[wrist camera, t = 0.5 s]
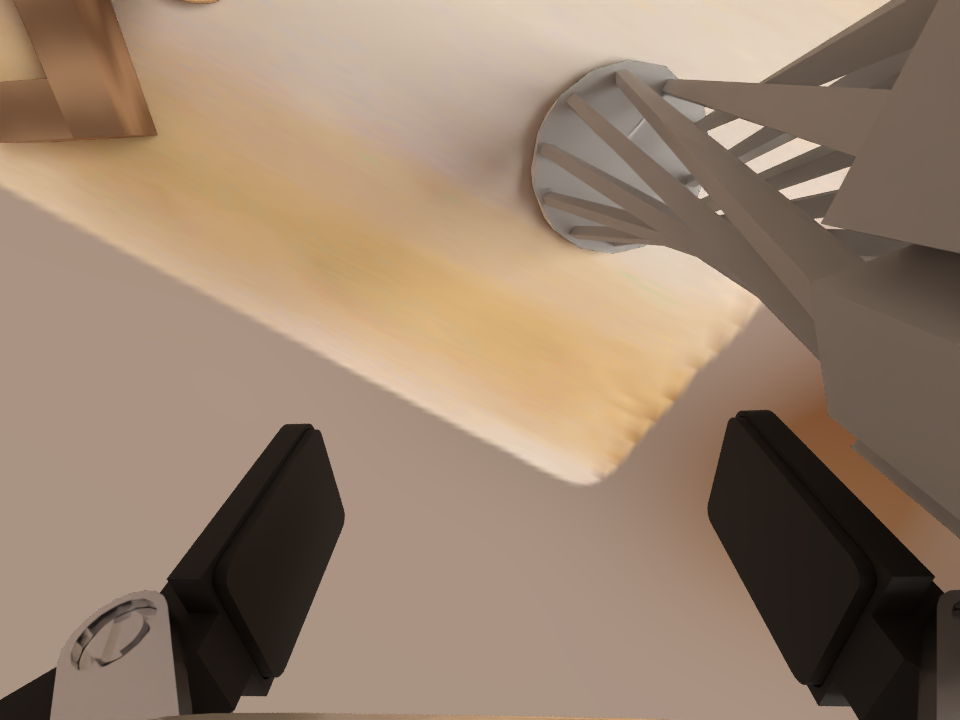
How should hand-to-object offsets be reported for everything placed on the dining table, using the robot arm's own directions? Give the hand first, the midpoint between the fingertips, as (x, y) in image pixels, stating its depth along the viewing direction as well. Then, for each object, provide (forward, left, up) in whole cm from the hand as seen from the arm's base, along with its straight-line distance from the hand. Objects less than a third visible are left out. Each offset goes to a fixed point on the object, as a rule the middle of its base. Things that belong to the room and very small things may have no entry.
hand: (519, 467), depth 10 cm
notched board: (-15, -33, -30) cm, 48 cm away
